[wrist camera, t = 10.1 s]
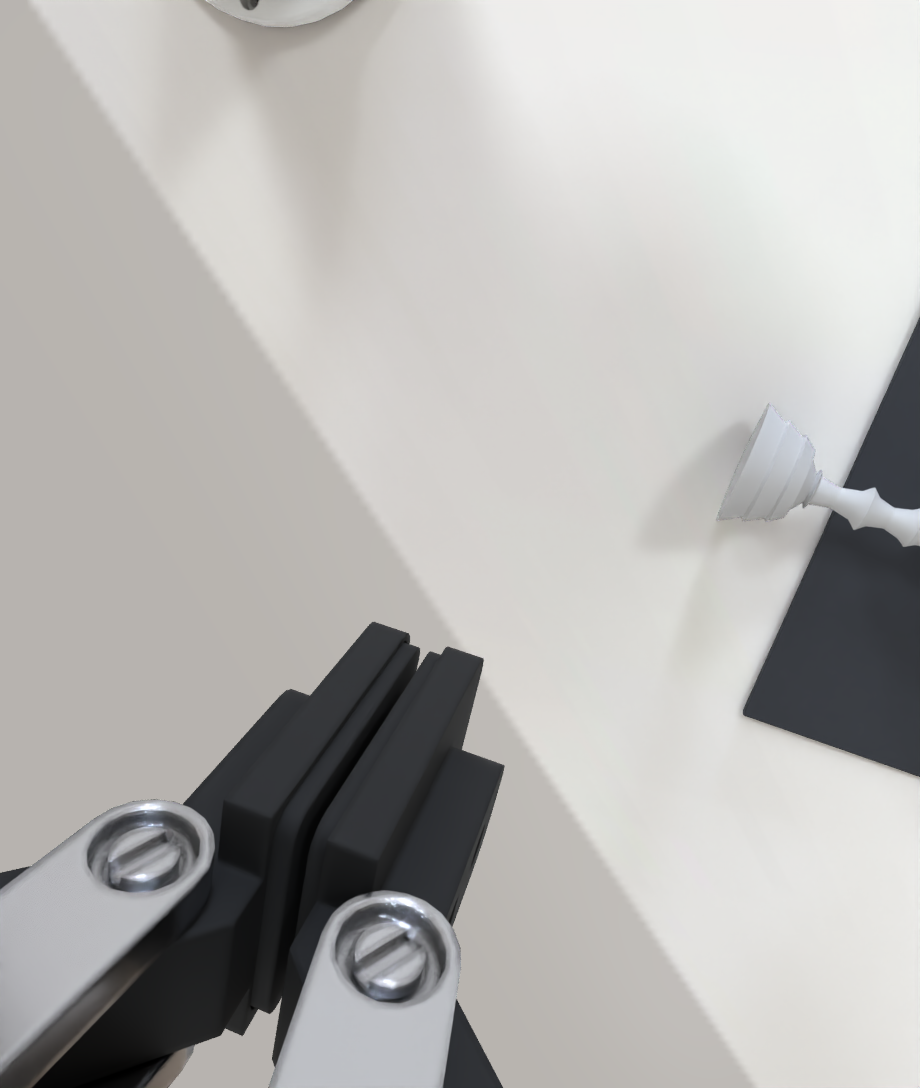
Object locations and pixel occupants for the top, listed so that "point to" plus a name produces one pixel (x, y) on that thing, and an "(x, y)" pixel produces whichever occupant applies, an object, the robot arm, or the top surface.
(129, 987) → the robot arm
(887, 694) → the mat
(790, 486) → the chalice
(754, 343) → the top surface
